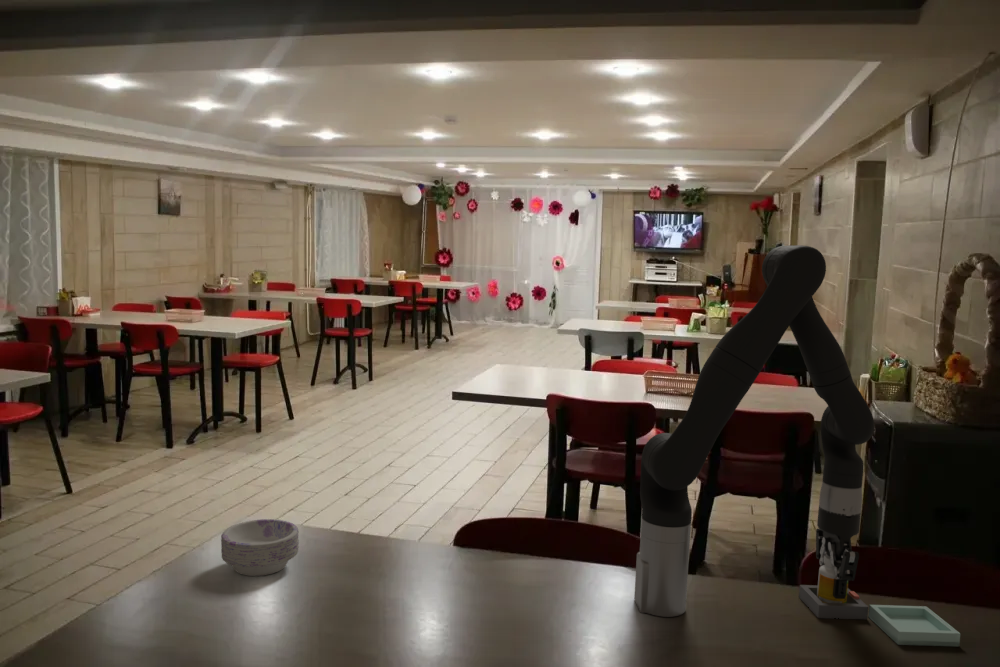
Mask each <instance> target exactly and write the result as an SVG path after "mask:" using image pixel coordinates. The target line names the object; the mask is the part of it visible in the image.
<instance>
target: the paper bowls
mask: <svg viewBox="0 0 1000 667" xmlns="http://www.w3.org/2000/svg"><path fill="white" fill-rule="evenodd" d="M220 537H221V538H220V542H221V545H220V546H221V559H222V561H224V562H225V564H228V565H231V566H232V568H233V569H234V571H235V572H237V573H238V574H241V575H243V576H248V577H258V576H259V577H262V576H269V575H272V574H276V573H278V572H279V571H282V570H283V569H284V568H285V567H286V566H287V564H288V562H289V561H290V560H292V559H293V558H294V557H296V556H297V555H298V553H299V547H300V546H299V543H300V542H299V541H300V540H299V528H298V527H297V525H296V524H295V523H292V522H290V521H287V520H281V519H272V518H271V519H269V518H268V519H267V518H265V519H264V518H262V519H253V520H247V521H242V522H239V523H236V524H233V525H231V526H229V527H227V528H226V529H225V530H224V531H223V532H222V533H221V536H220Z"/></svg>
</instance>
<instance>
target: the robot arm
mask: <svg viewBox="0 0 1000 667" xmlns="http://www.w3.org/2000/svg"><path fill="white" fill-rule="evenodd" d="M761 266H762V267H761V274H762V278H763V280H764V282H765V284H766V288H765V290H764V291H763V294H762V295H761V297H760V298H759V299H758V301H757V303H756V304H755V305H754V306H753V307H752V309H750V311H749V312H747V313H746V314H745V315H744V316H743V317H742V318H741V319H740V320H739V321H738V322H736V323H735V324H734V325H733V326H732V327H731V328H730V329H729V330H728V331H727V332H726V333H725V334H724V335H723V336H722V337H721V339H720V340H719V341H718V343H717V344H716V345H715V347H714V348H713V350H712V351H711V353H710V355H709V356H708V357H707V359H706V361H705V363H704V364H703V366H702V369H701V370H700V372H699V375H698V378H697V380H696V383H695V387H694V390H693V394H692V397H691V400H690V404H689V406H688V408H687V411H686V412H685V415H684V416H683V418H682V419H681V421H680V422H679V424H678V425H677V427H676V428H675V429H674V431H673V432H672V433H670V432H662V433H658V434H655V435H653V436H652V437H650V439H648V440H647V442H646V443H645V445H644V447H643V449H642V453H641V460H640V461H641V462H640V479H639V480H640V483H639V484H640V486H639V490H640V491H639V495H640V496H639V497H640V499H639V500H640V504H641V524H640V525H641V526H640V537H639V538H640V540H639V541H640V543H639V551H637V553H636V563H635V564H636V565H635V581H634V583H635V584H634V596H633V597H634V601H635V603H636V607H637V609H638V611H639V613H642V614H644V613H645V614H649V615H652V616H656V617H664V618H672V617H678V616H681V615H683V614H685V612H686V605H687V592H688V576H689V575H688V574H689V562H690V560H689V559H690V547H691V545H690V543H691V532H692V531H691V530H692V514H693V512H692V506H691V503H690V499H689V492H688V488H689V487H688V486H690V485H691V484H693V482H694V481H695V480H697V477H698V476H699V474H700V472H701V470H702V469H703V467H704V464H705V462H706V461H707V459H708V456H709V454H710V453H711V450H712V449H713V447H714V445H715V442H716V441H717V439H718V437H719V435H720V434H721V432H722V431H723V429H724V427H725V426H726V424H727V423H728V421H729V420H730V418H731V417H732V415H733V414H734V413H735V411H736V409H737V408H738V406H739V405H740V403H741V402H742V400H743V399H744V398H745V396H746V395H747V393H748V392H749V390H750V389H751V387H752V385H753V384H754V383H755V381H756V380H757V378H758V377H759V374H760V373H761V372H762V370H763V368H764V367H765V365H766V363H767V362H768V360H769V359H770V357H771V355H772V353H773V352H774V350H775V349H776V347H777V346H778V344H779V342H780V341H781V339H782V338H783V336H784V334H785V333H786V331H787V329H788V328H790V330H791V333H792V335H793V337H794V339H795V342H796V344H797V346H798V348H799V351H800V353H801V356H802V359H803V362H804V365H805V366H806V367H805V368H806V370H807V373H808V376H809V378H810V381H811V384H812V387H813V389H814V390H815V393H816V395H817V396H818V397H820V399H822V400H823V401H824V402H825V404H826V405H827V407H826V408H825V409H824V411H823V413H822V416H821V419H820V436H821V445H822V451H823V452H822V453H823V457H824V462H823V471H822V483H821V486H820V487H821V488H820V490H819V498H818V502H819V503H818V512H817V513H818V514H817V522H816V523H817V525H816V526H817V528H816V530H815V557H816V559H817V560H819V565H820V567H821V566H822V565H825V564H824V555H826V554H827V555H828V556H830V558H831V566H833V567H834V575H835V578H834V587H833V596H834V597H835V598H836V599H844V598H845V597H846V589H847V581H848V582H849V581H853V582H854V581H855V579H856V574H857V568H858V563H859V558H860V553H859V551H854V550H853V549H852V538H853V537H855V536H857V535H859V533H860V526H861V515H862V507H863V506H862V504H863V481H864V480H863V476H864V460H863V459H862V457H861V456H860V455H859V453H858V452H857V450H856V445H862V444H865V443H867V442H868V441H870V439H871V438H872V436H873V434H874V431H875V420H874V416H873V413H872V411H871V408H870V407H869V405H868V403H867V401H866V400H865V398H864V396H863V394H862V393H861V391H860V390H859V389H858V387H857V385H856V384H855V382H854V380H853V377H852V374H851V371H850V368H849V365H848V363H847V359H846V357H845V355H844V352H843V350H842V348H841V345H840V344H839V342H838V340H837V339H836V337H835V335H834V334H833V333H832V331H831V330H830V328H829V326H828V325H827V323H826V322H825V320H824V319H823V317H822V316H821V313H820V311H819V310H818V307H817V305H816V303H815V300H814V298H813V296H814V295H815V294H816V293H817V291H818V290H819V288H820V287H821V285H822V284H823V282H824V279H825V278H826V273H827V270H826V269H827V264H826V259H825V257H824V255H823V254H822V253H821V251H820V250H818V249H817V248H816V247H813V246H809V245H800V244H796V245H792V244H791V245H790V244H789V245H788V244H787V245H780V246H776V247H774V248H773V249H770V251H769V252H768V253H767V254H766V255H765V257H764V259H763V261H762V265H761ZM836 560H840V561H842V563H838V562H837V561H836ZM839 567H841V568H840V573H839Z"/></svg>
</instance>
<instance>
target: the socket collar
mask: <svg viewBox="0 0 1000 667" xmlns="http://www.w3.org/2000/svg"><path fill="white" fill-rule="evenodd" d="M817 587H818V584H817V585H816V584H815V585H814V584H813V585H812V584H799V588H798V589H799V590H798V599H800V600H801V601H802V602H803V603H804V604H805V605H806V607H809V610H810V611H811V612H812V613H813V614H814V616H815V617H816V618H817V619H834V618H836V619H838V618H839V619H840V620H841V619H842V620H868V616H869V605H867V603H865V602H864V601H863V600H862V599H860V595H859V594H858V593H856V592H855V591H854V590H851V589H850V588H848V591H847V602H846V603H822V601H821V600H820V599H819V598H818V597H817ZM836 619H835V620H836ZM839 619H838V620H839Z"/></svg>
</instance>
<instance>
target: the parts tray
mask: <svg viewBox="0 0 1000 667" xmlns="http://www.w3.org/2000/svg"><path fill="white" fill-rule="evenodd" d="M867 618H869V619H870V620H871V621H872V622H873V623H875V625H876V626H878V627H879V628H880V629H881V630H882V631H883V632H884V633H885V635H887V636H888V637H890V639H891V640H892V641H894V643H895V644H896V645H899V646H932V647H960V643H961V633H960V632H959V631H958V630H957V629H956V628H954V627H953V626H952V625H950V624H949V623H948V622H947V621H946V620H944V619H943V618H941V616H939V615H938V614H936V613H935V612H934V611H933V610H932V609H930V608H929V607H928V606H924V605H921V606H920V605H896V604H895V605H892V604H890V605H889V604H869V605H868V616H867Z"/></svg>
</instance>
